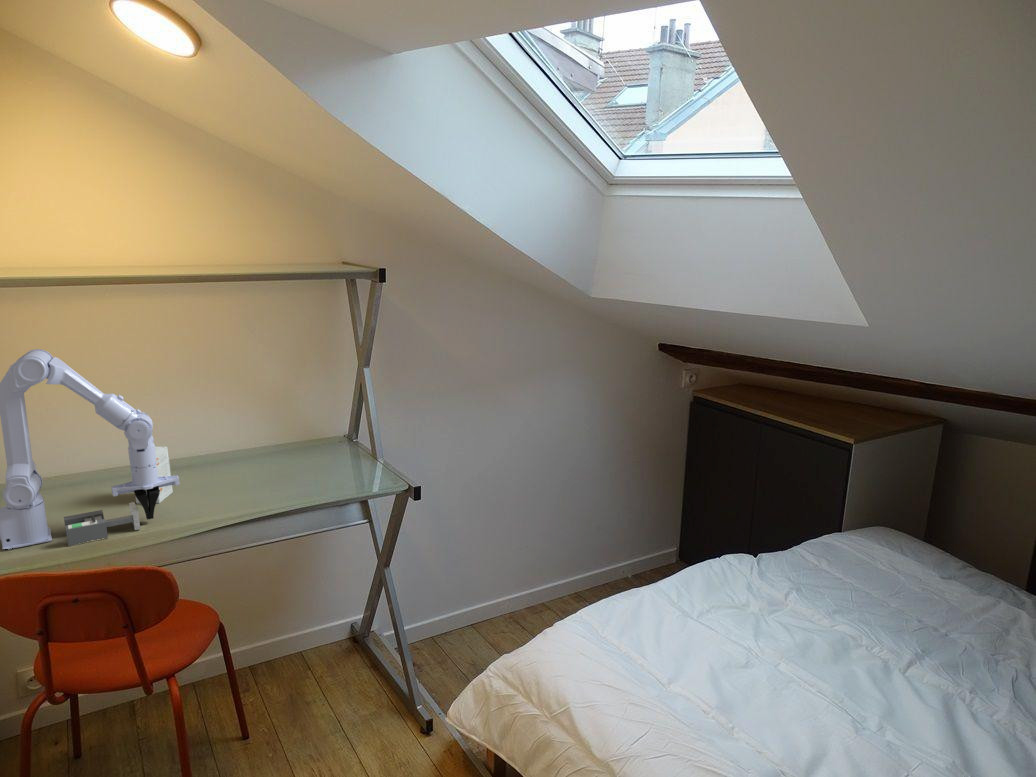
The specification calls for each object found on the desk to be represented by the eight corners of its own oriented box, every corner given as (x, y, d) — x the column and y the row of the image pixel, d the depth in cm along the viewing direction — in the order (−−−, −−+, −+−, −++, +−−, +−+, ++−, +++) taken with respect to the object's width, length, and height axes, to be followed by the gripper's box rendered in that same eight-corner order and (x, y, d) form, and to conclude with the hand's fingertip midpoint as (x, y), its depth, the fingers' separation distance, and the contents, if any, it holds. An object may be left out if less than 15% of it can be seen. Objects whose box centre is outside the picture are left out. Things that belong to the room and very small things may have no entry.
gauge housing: (68, 546, 175) (65, 529, 174) (66, 532, 182) (63, 515, 181) (108, 538, 179) (105, 521, 178) (104, 525, 187) (101, 508, 186)
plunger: (88, 540, 177) (85, 522, 176) (85, 529, 184) (82, 511, 183) (140, 530, 183) (138, 512, 182) (136, 519, 189) (134, 501, 188)
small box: (150, 492, 208) (144, 446, 205) (173, 492, 208) (168, 446, 205) (135, 503, 200) (129, 455, 197) (159, 503, 200) (153, 455, 197)
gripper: (111, 474, 177) (118, 529, 181) (179, 463, 185) (184, 516, 188) (108, 466, 183) (115, 519, 186) (174, 455, 191) (179, 507, 194)
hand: (149, 517), depth 188 cm, fingers closed
